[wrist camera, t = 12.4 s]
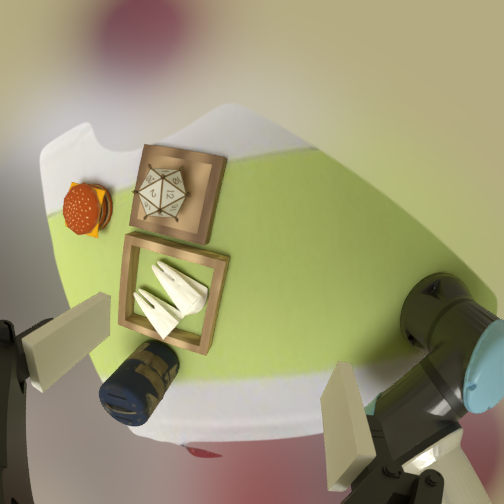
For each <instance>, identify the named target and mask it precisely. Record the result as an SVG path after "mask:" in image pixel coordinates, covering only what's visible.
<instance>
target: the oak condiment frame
mask: <svg viewBox="0 0 504 504" xmlns="http://www.w3.org/2000/svg"><path fill="white" fill-rule="evenodd" d="M140 248H144V249H147V250H150V251H154V252H157V253H161V254H164V255H168V256H171V257H175V258H178V259H182V260H185V261H189V262H193V263H196V264H200V265H203V266H207V267H211V268H214V273H213V278H212V283H211V288H210V293H209V298H208V303H207V309H206V314H205V319H204V324H203V330H202V335H201V336H199V335H195V334H192V333H189V332H186V331H183V330H180V329H177V328H174V329H173V330H172V331H171V332H170V333H169V334H168V335H167V336H166V337H165V338H164V339H162V337H161V336H160V335H159V334H158V332H157V331H156V329H155V328H154V327H153V325H152V324H151V322H150V321H149V320H148V318H145V317H142V316H140V315H137V314H134V313H133V312H134V299H135V297H134V295H133V294H134V292H135V287H136V277H137V268H138V259H139V251H140ZM229 260H230V257H229V256H225V255H221V254H217V253H214V252H210V251H206V250H202V249H198V248H195V247H191V246H187V245H183V244H180V243H176V242H172V241H169V240H165V239H161V238H157V237H154V236H150V235H146V234H143V233H139V232H131V233H128V234H125V239H124V247H123V257H122V267H121V278H120V292H119V310H118V324H119V325H121V326H123V327H126V328H128V329H131V330H134V331H136V332H139V333H141V334H144V335H147V336H149V337H152V338H155V339H157V340H160V341H163V342H166V343H169V344H171V345H174V346H177V347H180V348H183V349H186V350H189V351H192V352H196V353H199V354H202V355H205V356H206V355H207V353H208V351H209V350H210V348H211V345H212V340H213V335H214V330H215V325H216V321H217V316H218V311H219V306H220V302H221V297H222V292H223V288H224V283H225V279H226V274H227V269H228V265H229Z"/></svg>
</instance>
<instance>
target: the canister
mask: <svg viewBox="0 0 504 504" xmlns="http://www.w3.org/2000/svg"><path fill="white" fill-rule="evenodd" d="M178 368H179V366H178V361H177V358H176V356H175V355H174V353H173V352H172V351H171V350H170V349H169V348H168V347H166V346H165V345H163V344H161V343H159V342H155V341H148V342H145V343H143V344H141V345H140V346H139V347H138V348H137V349H136V350H135V351H134V352H133V353H132V354H131V355H130V356H129V357H128V358H127V359H126V360H125V361H124V362H123V363H122V364H121V365H120V366H119V368H118V369H117V370H116V371H115V372H114V373H113V374H112V375H111V376H110V377H109V378H108V379H107V380H106V381H105V382H104V383H103V384H102V386H101V387H100V390H99V398H100V401H101V404H102V405H103V407H104V409H105V410H106V411H107V412H108V413H109V414H110V415H111V416H112V417H113V418H114V419H116V420H117V421H119V422H121V423H123V424H125V425H129V426H140V425H143V424H144V423H146V422H147V420H148V419H149V418H150V416H151V415H152V413H153V411H154V410H155V408H156V407H157V405H158V404H159V402H160V401H161V400H162V399H163V396H164V394H165V392H166V391H167V389H168V388H169V386H170V385H171V383H172V381H173V380H174V378H175V377H176V375H177V373H178Z"/></svg>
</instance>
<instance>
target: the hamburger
mask: <svg viewBox="0 0 504 504" xmlns="http://www.w3.org/2000/svg"><path fill="white" fill-rule="evenodd" d="M63 215H64V218H65V225H66V226H67V227H68V228H70V229H71V230H72V231H73V232H75V233H76V234H77V235H82V234H86V235H89V236H92V237H96V238H98V231H99V230H101V229H103V228H104V227H105V226H106V225H107V224H108V222H109V221H110V218H111V215H112V200H111V197H110V194H109V193H108V191H107V190H106V189H105V188H104V187H102V186H100V185H98V184H92V185H91V184H86V183H83V184H78V183H74V182H72V183H71V186H70V189H69V192H68V193H67V195H66V197H65V198H64V205H63Z"/></svg>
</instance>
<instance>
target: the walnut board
mask: <svg viewBox="0 0 504 504" xmlns="http://www.w3.org/2000/svg"><path fill="white" fill-rule="evenodd" d="M148 163H149V164H151V167H152V168H163V169H177V170H179V169H180V167H181V166H183V165H184V169H183V170H181V173H182V177H183V181H184V185H185V188H186V192H189V193H190V194H191V195H192V196H191V197H186V199H185V201H184V203H183V205H182V207H181V209H180V211H179V213H178V215H177V218H178V219H179V221H178V222H176V221H175V218H168V217H152V216H148V217H147V219H146V220H144V221H143V219H144V218H143V217H144V216H146V214H145V211H144V209H143V206H142V204H141V201H140V198H139V196H138V193H137V194H134V198H133V204H132V210H131V216H130V223H129V226H133V227H137V228H140V229H144V230H148V231H152V232H155V233H159V234H163V235H167V236H171V237H174V238H178V239H182V240H186V241H190V242H193V243H197V244H201V245H206V244H208V243H209V240H210V235H211V230H212V225H213V220H214V216H215V211H216V207H217V202H218V198H219V193H220V189H221V184H222V180H223V176H224V171H225V167H226V163H227V158H225V157H221V156H216V155H210V154H205V153H199V152H193V151H187V150H181V149H175V148H168V147H162V146H154V145H147V144H144V148H143V153H142V157H141V162H140V166H139V171H138V176H137V181H136V187H135V190H137V191H138V189H139V187H140V186H141V184H142V182H143V180H144V178H145V177H146V175H147V173H148V171H149V170H150V168H148Z"/></svg>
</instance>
